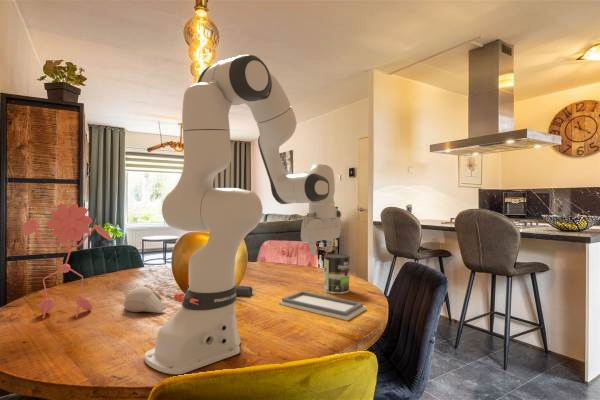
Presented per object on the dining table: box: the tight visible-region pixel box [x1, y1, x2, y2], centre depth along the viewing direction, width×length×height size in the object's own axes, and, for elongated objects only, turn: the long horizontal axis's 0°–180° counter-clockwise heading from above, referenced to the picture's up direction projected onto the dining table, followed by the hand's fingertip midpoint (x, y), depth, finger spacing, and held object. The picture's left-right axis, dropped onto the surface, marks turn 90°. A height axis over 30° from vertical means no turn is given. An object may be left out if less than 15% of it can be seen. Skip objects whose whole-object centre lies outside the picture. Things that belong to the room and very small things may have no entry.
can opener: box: [236, 285, 253, 297], centre depth 128 cm, size 19×6×5 cm
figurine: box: [21, 203, 112, 319], centre depth 107 cm, size 15×26×35 cm, turn 100°
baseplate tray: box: [278, 290, 367, 322], centre depth 114 cm, size 13×27×2 cm, turn 54°
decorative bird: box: [123, 286, 167, 314], centre depth 108 cm, size 9×16×8 cm, turn 58°
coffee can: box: [323, 253, 350, 295], centre depth 134 cm, size 10×10×14 cm
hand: (321, 253), depth 114 cm, fingers open, 8 cm apart
